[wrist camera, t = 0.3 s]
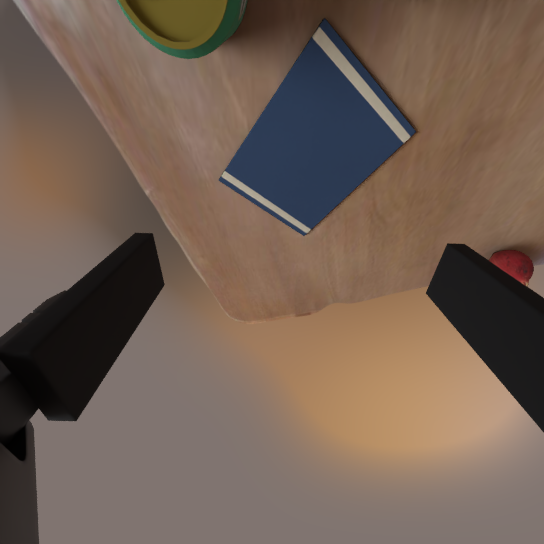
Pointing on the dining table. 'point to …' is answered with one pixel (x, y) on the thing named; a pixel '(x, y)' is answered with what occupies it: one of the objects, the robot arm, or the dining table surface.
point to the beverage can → (185, 23)
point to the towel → (317, 136)
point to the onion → (514, 264)
